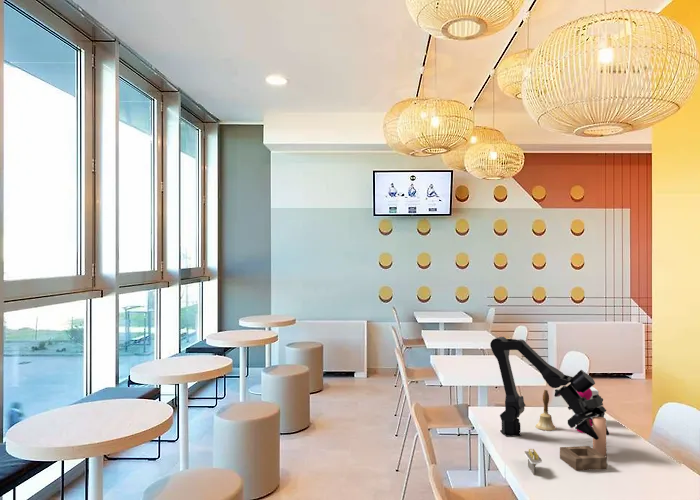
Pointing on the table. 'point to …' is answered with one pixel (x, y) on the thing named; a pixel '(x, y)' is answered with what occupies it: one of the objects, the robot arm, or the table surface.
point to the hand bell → (545, 416)
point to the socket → (583, 458)
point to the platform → (532, 461)
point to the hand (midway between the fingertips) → (603, 436)
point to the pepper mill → (587, 395)
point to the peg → (599, 434)
